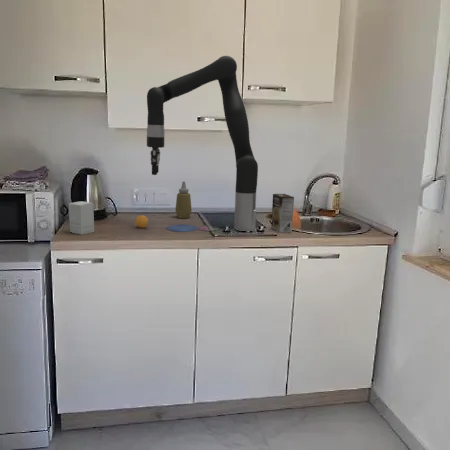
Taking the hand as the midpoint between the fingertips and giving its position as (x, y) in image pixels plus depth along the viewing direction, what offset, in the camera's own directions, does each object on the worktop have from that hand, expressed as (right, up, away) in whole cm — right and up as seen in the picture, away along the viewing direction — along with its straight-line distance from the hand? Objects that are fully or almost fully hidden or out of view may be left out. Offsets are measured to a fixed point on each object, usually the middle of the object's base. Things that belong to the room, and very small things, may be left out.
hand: (155, 173), depth 206 cm
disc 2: (+23, -24, +8) cm, 34 cm away
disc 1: (+11, -24, +7) cm, 27 cm away
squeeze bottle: (+10, -19, +30) cm, 37 cm away
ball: (-7, -21, +5) cm, 23 cm away
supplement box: (-30, -26, -5) cm, 40 cm away
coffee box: (+56, -25, +9) cm, 62 cm away
